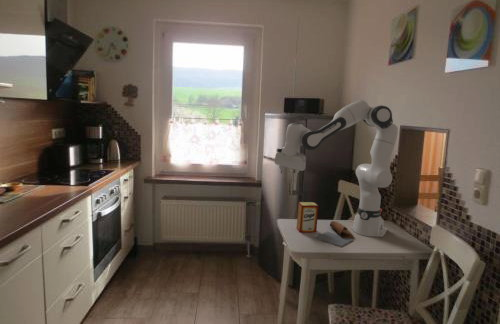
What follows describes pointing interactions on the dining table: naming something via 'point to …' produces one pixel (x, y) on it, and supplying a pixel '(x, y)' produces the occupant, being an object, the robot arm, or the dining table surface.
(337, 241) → the mat
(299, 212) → the baking soda box
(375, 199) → the robot arm
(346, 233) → the sunglasses case
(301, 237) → the dining table surface
